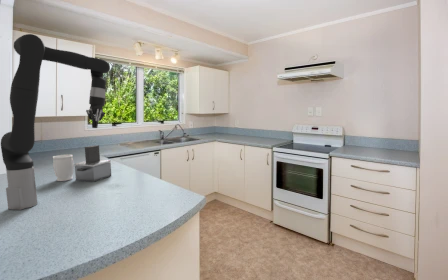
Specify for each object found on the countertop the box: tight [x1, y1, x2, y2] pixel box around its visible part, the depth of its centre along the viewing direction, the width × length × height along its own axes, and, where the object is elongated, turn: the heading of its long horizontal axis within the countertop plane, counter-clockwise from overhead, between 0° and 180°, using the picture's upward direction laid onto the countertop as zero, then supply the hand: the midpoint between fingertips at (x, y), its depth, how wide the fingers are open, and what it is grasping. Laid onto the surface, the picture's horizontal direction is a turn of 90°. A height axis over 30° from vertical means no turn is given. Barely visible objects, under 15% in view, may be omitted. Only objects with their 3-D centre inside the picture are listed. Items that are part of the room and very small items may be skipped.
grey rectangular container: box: [74, 162, 112, 183], centre depth 150 cm, size 20×14×9 cm
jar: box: [52, 153, 75, 182], centre depth 146 cm, size 11×10×15 cm
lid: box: [74, 144, 111, 167], centre depth 148 cm, size 14×14×11 cm
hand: (94, 127), depth 131 cm, fingers closed
